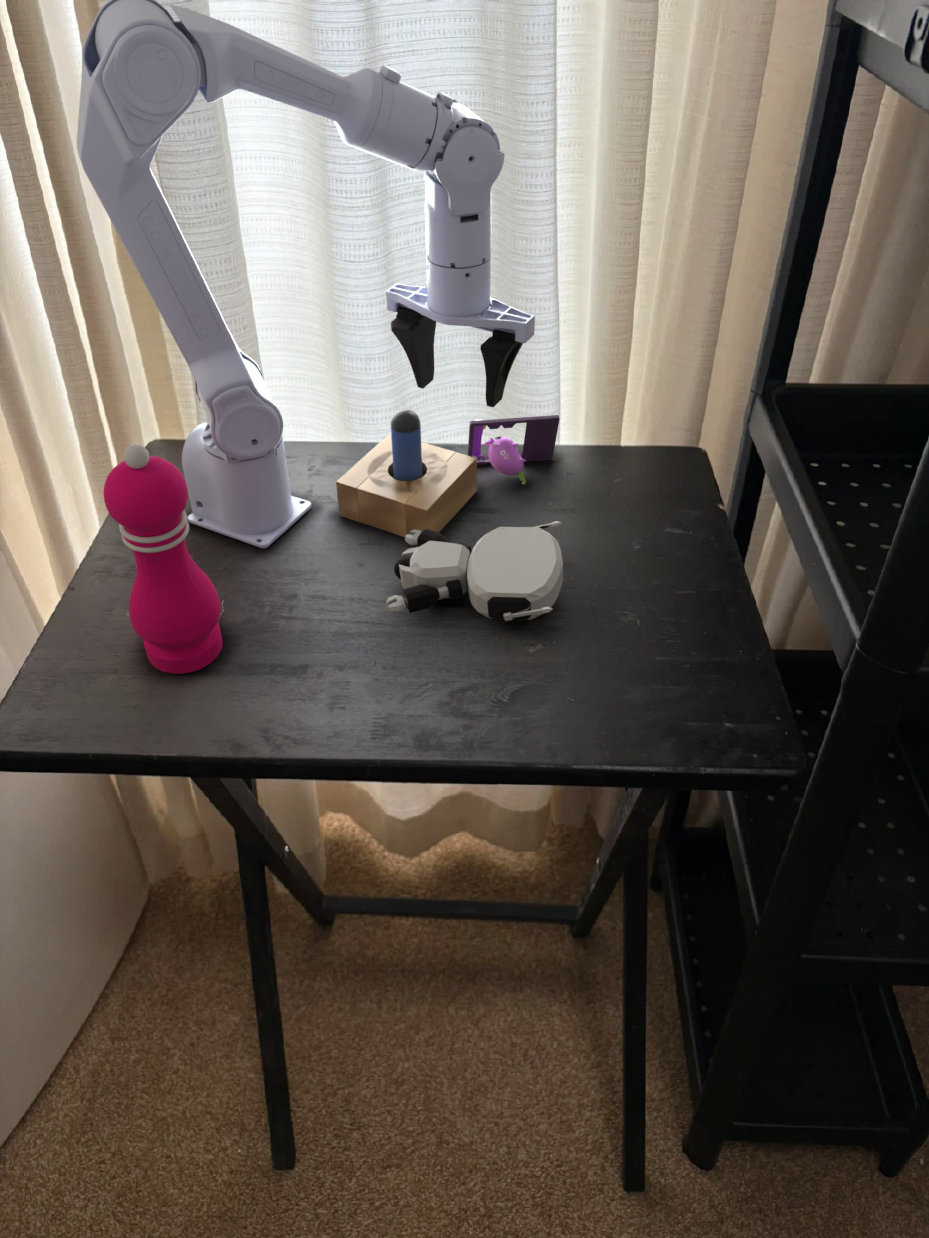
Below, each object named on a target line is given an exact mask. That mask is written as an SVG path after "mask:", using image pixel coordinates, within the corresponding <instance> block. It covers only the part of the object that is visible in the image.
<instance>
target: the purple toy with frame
mask: <svg viewBox="0 0 929 1238" xmlns="http://www.w3.org/2000/svg"><path fill="white" fill-rule="evenodd" d="M516 424H525V430H524V431H525V432H524V437H523V438H524V440H523V446H522V452H521V453H522V454H520V452H519V449H518V448H517V446H518V445H519V443H516V442H515V441H513V440H512V439H511V438H509V437H505V436H502V435H501V436H497V437H494V438H492V437H490V438H489V439H488V440H487V441H485V442H484V443H483V447H486V446H488V450H487V451H488V453H487V455H488V459H485V456H484V455H483V454H482V437H483V434H484V433H483V432H484V430H485V429H486V428H487V427H488V429H489V430H498V429H499V428H500V427H502V428H503V429H512V428H513V427H514V426H515V425H516ZM559 425H560V415H559V414H552V415H550V414H549V415H539V416H538V415H537V416H524V417H509V418H496V419H495V418H493V419H480V418H477V419H474V420H471V421H469V426H468V439H467V441H468V442H467V455H468V456H471V457H475V458H477V466H482V465H491V466H492V467H493V468H494V469H495V470H496V471H498V473H500V474H503V475H506V476H515V475H517V476H518V477H517V478H518V479H519V480H518V481H520V482H521V485H526V484H527V481H526V477H525V475H524V473H523V472H522V471H523V470H524V463H526V462H536V461H537V462H539V461H551V460H553V458H554V452H555V447H556V441H557V436H558V430H559Z"/></svg>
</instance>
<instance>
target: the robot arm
mask: <svg viewBox="0 0 929 1238" xmlns="http://www.w3.org/2000/svg"><path fill="white" fill-rule="evenodd" d="M169 7H170V8H171V10H172V11H173V12H174V13H175V15H176V16H177V19H179V20H175V19H174V18H173V16H172V15H171V14H170V12H169V11H168V9H166V8H165V7H164V6H163V5H162V4H161V3H159V2H158V1H157V0H107V1H106V2H105V3H104V4H103V5H102V6H101V7H100V9H99V11H98V12H97V14H96V16H95V18H94V20H93V22H92V25H91V27H90V28H89V31H88V32H87V35H86V37H85V39H84V42H83V44H82V47H81V77H80V78H81V79H80V93H79V96H80V97H79V108H78V119H77V132H76V150H77V154H78V157H79V159H80V162H81V165H82V169H83V171H84V174H85V176H86V177H87V179H88V181H89V182H90V185H91V186H92V188H93V190H94V192H95V194H96V196H97V198H98V199H99V201H100V203H101V205H102V208H103V209H104V211H105V212H106V215H107V216H108V218H109V220H110V222H111V224H112V225H113V227H114V230H115V232H116V233H117V236H118V237H119V239H120V241H121V243H122V244H123V246H124V248H125V250H126V251H127V254H128V256H129V257H130V259H131V261H132V263H133V265H134V267H135V269H136V271H137V272H138V274H139V276H140V279H141V280H142V282H143V284H144V285H145V288H146V290H147V291H148V293H149V295H150V297H151V298H152V301H153V303H154V305H155V306H156V308H157V310H158V311H159V312H158V313H159V314H160V316H161V317H162V320H163V321H164V323H165V324H166V327H167V329H168V331H169V332H170V334H171V336H172V338H173V340H174V341H175V344H176V346H177V348H178V349H179V351H180V353H181V355H182V357H183V358H184V361H185V362H186V364H187V367H188V368H189V371H190V373H191V375H192V377H193V386H194V391H195V395H196V397H197V399H198V400H199V402H200V404H201V407H202V410H203V413H204V415H205V417H206V421H207V422H202V423H200V424H198V425H197V426H196V427H194V428H193V429H192V430H191V432H190V433H189V434H188V435H187V436H186V437H187V438H186V439H185V441H184V444H183V447H182V452H181V467H182V471H183V477H184V479H185V482H186V485H187V490H188V500H189V502H190V507H191V513H190V514H189V515H187V522H188V523H190V524H193V525H196V526H198V527H200V528H204V529H206V530H209V531H212V532H215V533H218V534H220V535H223V536H227V537H229V538H231V539H235V540H238V541H240V542H243V543H246V544H249V545H252V546H254V547H258V548H260V549H267V548H269V547H270V546H271V545H272V544H273V543H274V542H275V541H277V539H278V538H279V537H281V536H282V535H283V534H284V533H285V532H286V531H287V530H288V529H290V528H291V527H292V526H293V525H294V524H295V523H296V522H297V521H298V520H299V519H300V518H302V517H303V516H304V515H305V514H306V513H307V512H308V511H310V510H311V509H312V507H313V506H312V502H311V501H309V500H306V499H303V498H300V497H297V496H294V495H292V492H291V491H292V490H291V484H290V477H289V469H288V464H287V463H288V461H287V456H286V447H285V441H284V433H283V431H284V419H283V415H282V413H281V411H280V410H279V408H278V406H277V404H276V403H274V400H273V398H272V396H271V394H270V392H269V390H268V388H267V384H265V380H264V378H263V373H262V371H261V368H260V367H259V365H258V363H257V362H256V361H255V360H254V359H253V358H252V357H250V356H249V355H248V354H247V353H245V352H244V351H243V350H241V348H240V347H239V346H238V344H237V342H236V341H235V339H234V336H233V335H232V333H231V331H230V329H229V327H228V325H227V323H226V321H225V319H224V317H223V315H222V313H221V310H220V309H219V307H218V305H217V302H216V300H215V298H214V296H213V294H212V292H211V290H210V288H209V286H208V283H207V282H206V279H205V278H204V275H203V274H202V272H201V270H200V267H199V265H198V263H197V261H196V259H195V257H194V254H193V252H192V250H191V249H190V247H189V244H188V243H187V240H186V239H185V237H184V235H183V232H182V230H181V228H180V226H179V224H178V222H177V220H176V218H175V216H174V214H173V212H172V210H171V208H170V206H169V203H168V201H167V199H166V198H165V197H166V196H165V195H164V194H163V191H162V189H161V187H160V185H159V183H158V181H157V179H156V177H155V175H154V173H153V171H152V169H151V166H152V165H151V164H152V163H153V160H154V158H155V156H156V153H157V151H158V149H159V146H160V144H161V141H162V139H163V137H164V135H165V134H166V133H167V132H168V131H169V130H170V129H171V128H172V127H173V126H174V125H175V124H176V123H177V122H178V121H179V120H180V119H181V118H182V117H183V115H185V114H186V112H188V110H189V109H190V107H191V106H192V105H193V104H194V102H195V100H196V98H197V96H198V94H199V92H200V93H201V95H202V97H203V98H204V100H205V101H206V103H207V104H211V103H215V102H216V101H218V100H220V99H222V98H225V97H226V96H228V95H231V94H232V93H234V92H237V91H241V90H242V91H245V92H247V93H251V94H254V95H257V96H260V97H263V98H266V99H268V100H271V101H273V102H277V103H279V104H283V105H286V106H288V107H292V108H294V109H298V110H300V111H302V112H303V111H304V112H306V113H308V114H312V115H315V116H318V117H320V118H324V119H326V120H330V121H333V123H334V124H335V127H336V129H337V132H338V134H339V138H340V139H341V141H342V142H343V144H345V145H346V146H348V147H352V148H355V149H356V150H359V151H362V152H365V153H367V154H370V155H372V156H375V157H378V158H380V159H383V160H386V161H387V162H391V163H394V164H396V165H399V166H401V167H404V168H407V169H409V170H411V171H416V172H421V171H424V194H425V198H424V199H425V201H424V215H425V217H424V219H425V223H424V224H425V225H424V226H425V253H426V254H425V255H426V258H425V259H426V260H425V261H426V262H425V263H426V285H427V286H421V285H420V286H419V285H418V286H417V285H407V284H401V283H395V284H393V285H392V286H391V287H389V288H388V289H387V290H385V303H386V311H388V312H393V313H396V315H395V318H394V319H393V320H392V321H390V330H391V332H392V333H393V335H394V337H396V339H397V340H398V342H399V343H400V345H401V347H402V349H403V350H404V352H405V354H406V358H407V359H408V361H409V364H410V367H411V370H412V373H413V376H414V379H415V382H416V386H417V388H420V389H425V388H426V387H427V386H428V385H430V383H432V381H434V377H435V337H436V327H437V323H439V324H441V325H447V326H456V327H470V328H473V329H479V330H482V331H485V332H486V331H487V332H489V333H490V332H491V333H492V335H491V336H489V337H488V338H487V339H485V341H484V342H483V343H481V344H480V352H481V356H482V359H483V364H484V371H485V402H486V403H485V405H486V407H488V408H489V407H490V408H495V407H496V406H497V405H498V403H500V402H501V401H502V400H503V397H504V391H505V388H506V384H507V381H508V377H509V375H510V371H511V369H512V366H513V364H514V362H515V360H516V358H517V356H518V354H519V352H520V350H521V348H522V347H523V345H524V344H526V343H527V342H528V341H529V340H531V339H532V338H533V337H534V336H535V329H536V328H535V327H536V325H535V324H536V315H535V314H531V313H527V312H525V311H523V310H520V309H517V308H515V307H513V306H511V305H509V304H507V303H505V302H502V301H500V300H498V299H496V298H495V297H492V296H491V270H492V269H491V263H492V261H491V259H492V258H491V257H492V187H493V185H494V184H495V182H496V180H498V178H499V176H500V174H501V172H502V170H503V166H504V162H505V156H506V154H505V152H502V151H501V145H500V140H499V138H498V137H499V136H498V134H497V133H496V132H495V131H494V128H493V127H492V126H491V125H490V124H489V123H487V122H486V121H485V120H483V119H482V118H481V117H479V116H478V115H477V114H476V113H475V112H473V111H472V110H471V109H469V108H468V107H466V106H465V105H463V104H461V103H459V102H458V101H457V100H456V98H454V97H451V96H450V95H448V94H446V93H444V92H442V91H438V92H437V93H436V96H435V95H432V94H430V93H428V92H426V91H423V90H421V89H419V88H416V87H414V86H412V85H409V84H407V83H404V82H402V81H401V80H402V74H401V73H400V72H398V71H397V70H396V69H394V68H392V67H390V66H387V65H385V64H383V65H381V66H380V69H379V71H377V70H375V69H372V68H371V67H363V68H361V69H359V70H357V71H354V72H353V73H350V74H347V75H345V76H342V75H340V74H339V73H338V74H337V73H336V72H334V71H331V70H329V69H327V68H325V67H322V66H320V65H318V64H316V63H314V62H312V61H309V60H308V59H306V58H303V57H302V56H299V55H297V54H294V53H293V52H290V51H288V50H287V49H284V48H281V47H280V46H278V45H275V44H273V43H271V42H269V41H266V40H265V39H262V38H260V37H258V36H256V35H254V34H251V33H250V32H247V31H245V30H243V29H241V28H238V27H237V26H234V25H233V24H230V23H227V22H225V21H222V20H220V19H216V18H214V17H211V16H208V15H206V14H203V13H201V12H197V11H195V10H192V9H189V8H186V7H183V6H179V5H173V4H169Z"/></svg>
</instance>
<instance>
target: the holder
mask: <svg viewBox="0 0 929 1238" xmlns="http://www.w3.org/2000/svg"><path fill="white" fill-rule="evenodd" d="M421 450H422V478H419V479H417V480H413V481H399V480H396V479H394V472H393V455H392V439H391V432H389V433H388V434H387V435H386V436H385V437H384V438H383V439H382V440H380V442H378V443H377V444H376V445H375V446H374V447H372V449H370V451H368V452H367V453H366V454H365V455H364V456H363V457H362V458H361V459H359V460H358V461H357V462H356V463H355V464H354V465H353V466H352V467H351V468H350V469H349V470H347V471H346V472H345V473H344V474H343V475H342V476H341V477H339V479H337V480H336V482H335V485H336V486H335V487H336V494H337V505H338V514H339V517H342V518H346V519H348V520H351V521H354V522H358V523H361V524H364V525H367V526H370V527H373V528H376V529H378V530H382V531H384V532H388V533H391V534H394V535H397V536H400V537H403V538H405V536H406V535H407V534H409V532H410V531H412V530H413V529H415V530H420V531H421V532H422V531H423V530H425V529H428V530H432V531H435V532H438V533H441V531H442V530H443V529H444V528H445V527H446V526H447V525H448V523H449V522H450V521H451V520H452V519H453V518H454V517H455V516H456V514H457V513H458V512H459V511H460V510H461V509H463V507H464V506H465V505H466V504H467V502H469V501H470V500H471V499H472V497H473V496H474V495H475V494H476V493H477V491H478V489H477V488H478V487H477V486H478V484H477V483H478V481H477V480H478V476H477V474H478V473H477V472H478V470H477V469H478V465H477V461H478V459H477V457H476V456H472V457H471V456H468V454H465V453H464V454H463V453H461V452H457V451H454V450H451V449H447V448H444V447H441V446H436V445H433V444H430V443H426V442H423V441H421Z"/></svg>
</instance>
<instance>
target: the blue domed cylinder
mask: <svg viewBox="0 0 929 1238" xmlns="http://www.w3.org/2000/svg"><path fill="white" fill-rule="evenodd" d="M421 426H422V425H421V419H420V417H419V415H418V414H417V413H416V412H415V411H413V410H411V409H407V408H403V409H400V410H398V411H396V412H395V413H394V414H393V415H392V417H391V419H390V433H391V439H392V455H393V472H394V479H396V480H399V481H413V480H417V479H419V478H422V450H421V442H422V429H421V428H422V427H421Z"/></svg>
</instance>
